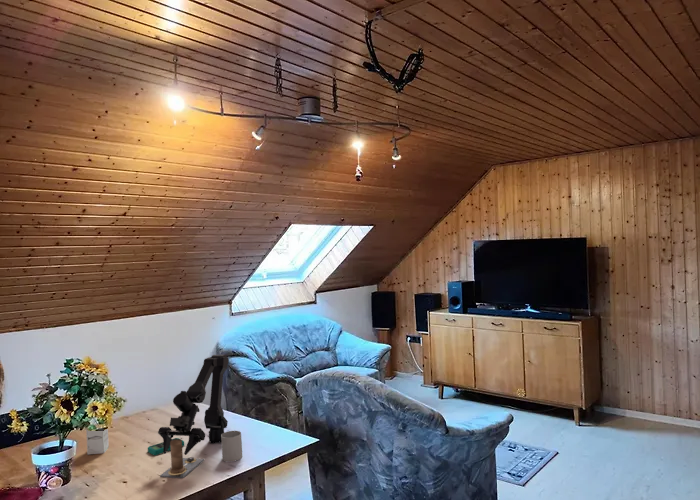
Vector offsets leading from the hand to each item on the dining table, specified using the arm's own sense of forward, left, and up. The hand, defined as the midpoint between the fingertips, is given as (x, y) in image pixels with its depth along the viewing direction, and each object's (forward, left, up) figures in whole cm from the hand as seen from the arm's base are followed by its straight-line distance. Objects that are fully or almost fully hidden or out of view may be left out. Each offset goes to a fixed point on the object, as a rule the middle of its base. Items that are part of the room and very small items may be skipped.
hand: (174, 454), depth 211 cm
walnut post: (-1, -1, -7) cm, 7 cm away
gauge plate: (-3, -5, -8) cm, 10 cm away
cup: (-23, -8, -8) cm, 25 cm away
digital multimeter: (+5, -31, -9) cm, 32 cm away
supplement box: (+34, -41, -8) cm, 54 cm away
